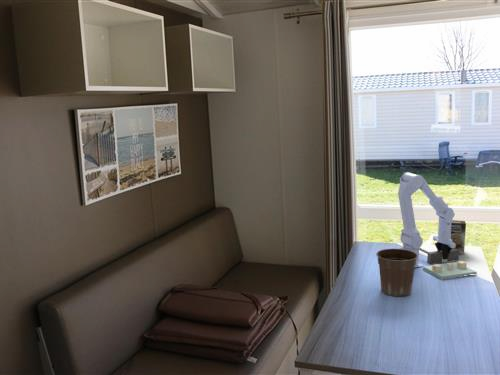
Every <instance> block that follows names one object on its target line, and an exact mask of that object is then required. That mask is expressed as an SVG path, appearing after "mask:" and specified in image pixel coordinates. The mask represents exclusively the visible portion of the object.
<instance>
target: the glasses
mask: <svg viewBox="0 0 500 375" xmlns="http://www.w3.org/2000/svg"><path fill="white" fill-rule="evenodd" d="M419 252H422V253H425V254H426V255H427V257H426V258H427V261H426V262H427V263H428V264H430V265H433V264H440V263H445V262H444V261H447V262H452V261H453V260H455V261H460V254H459V250H458V249H455V248H452V249H451V251H450V253H449V256H448V259H445V260H444V259H443V256H442V251H438V250H435V251H427V250H425V249H424V248H421V247H420V249H419ZM439 262H440V263H439ZM453 262H454V261H453Z"/></svg>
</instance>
